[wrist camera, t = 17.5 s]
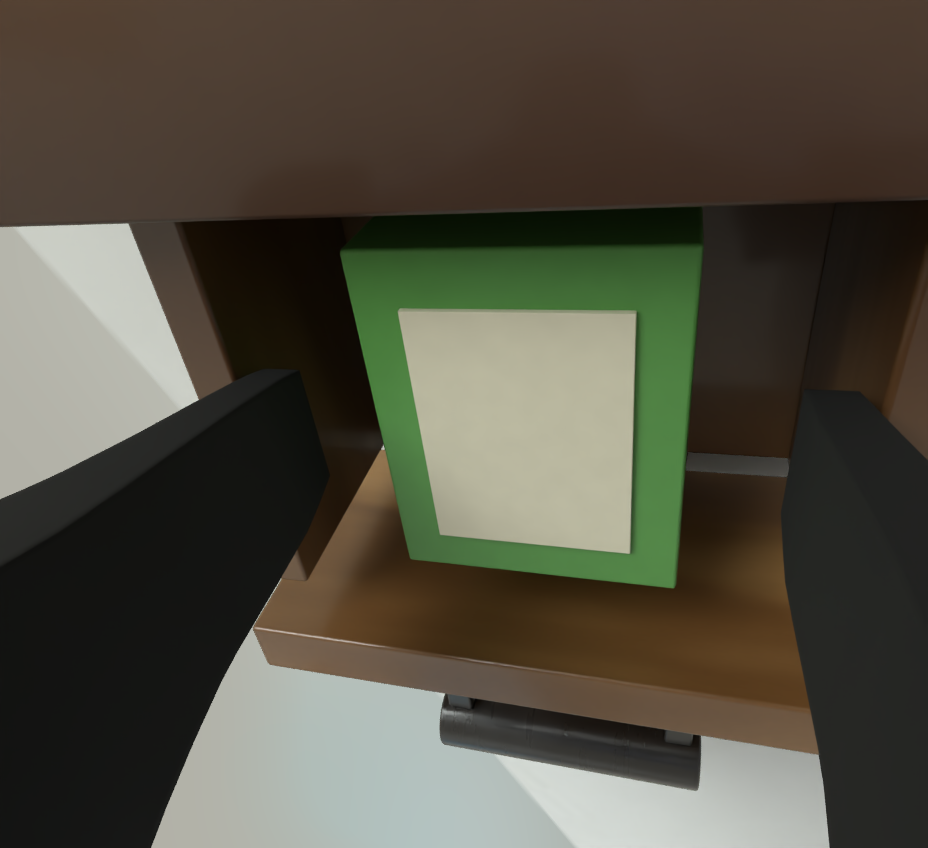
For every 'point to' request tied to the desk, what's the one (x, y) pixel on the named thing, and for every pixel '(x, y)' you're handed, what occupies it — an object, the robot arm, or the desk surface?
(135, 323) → the desk surface
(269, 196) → the cabinet
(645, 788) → the desk surface
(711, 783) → the desk surface
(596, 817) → the desk surface
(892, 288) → the drawer
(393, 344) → the snack box
